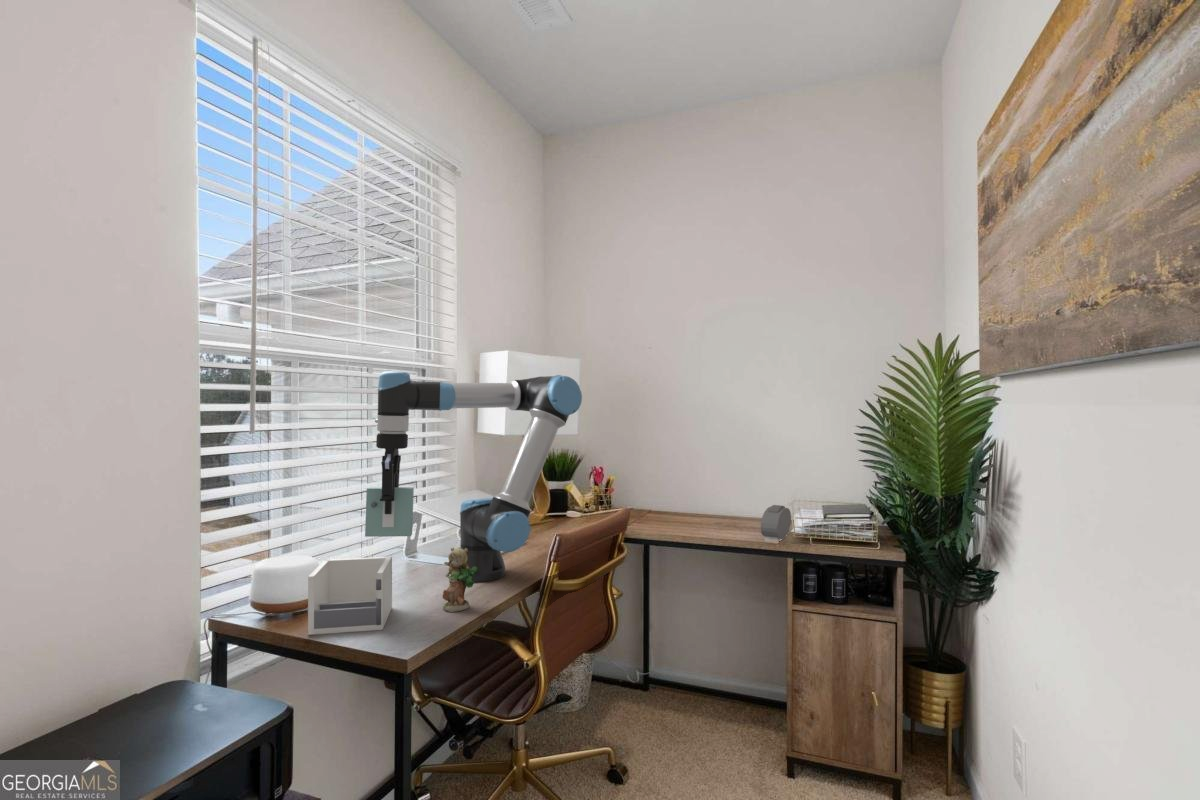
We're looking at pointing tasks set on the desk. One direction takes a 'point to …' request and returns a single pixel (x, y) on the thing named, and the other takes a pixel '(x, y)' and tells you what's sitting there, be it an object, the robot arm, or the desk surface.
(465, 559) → the figurine
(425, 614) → the desk surface
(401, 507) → the door
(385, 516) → the robot arm
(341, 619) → the cabinet
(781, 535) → the alarm clock
